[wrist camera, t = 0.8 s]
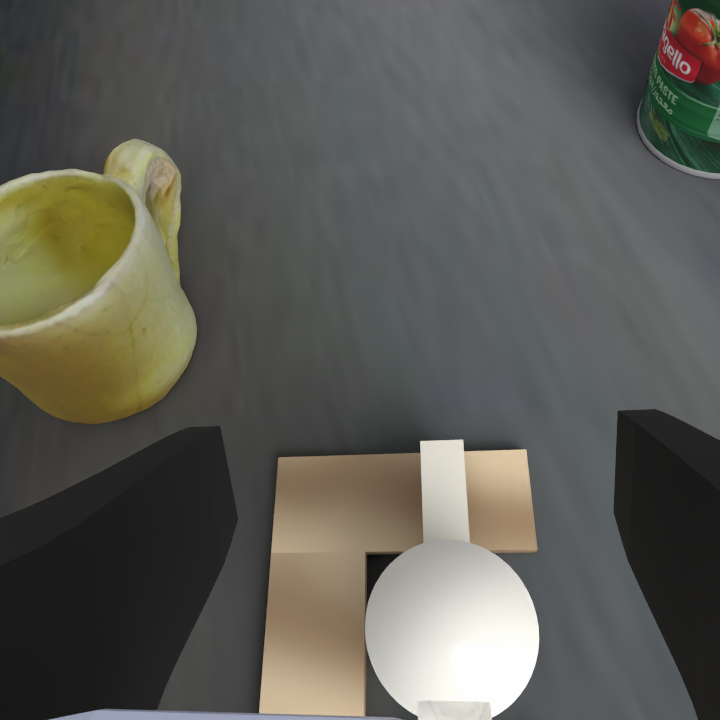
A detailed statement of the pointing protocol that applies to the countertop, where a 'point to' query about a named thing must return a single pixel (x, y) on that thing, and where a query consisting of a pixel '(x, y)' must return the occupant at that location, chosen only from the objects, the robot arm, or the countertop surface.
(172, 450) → the robot arm
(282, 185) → the countertop surface
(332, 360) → the countertop surface
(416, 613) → the white piece
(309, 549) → the dock
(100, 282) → the mug
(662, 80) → the canned tomato
